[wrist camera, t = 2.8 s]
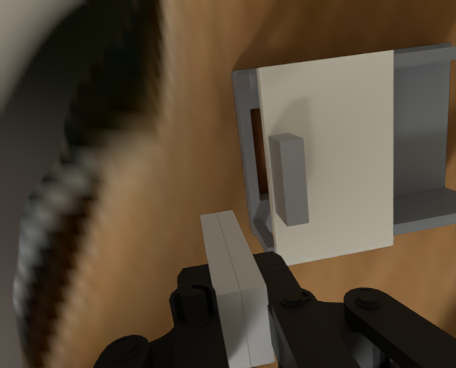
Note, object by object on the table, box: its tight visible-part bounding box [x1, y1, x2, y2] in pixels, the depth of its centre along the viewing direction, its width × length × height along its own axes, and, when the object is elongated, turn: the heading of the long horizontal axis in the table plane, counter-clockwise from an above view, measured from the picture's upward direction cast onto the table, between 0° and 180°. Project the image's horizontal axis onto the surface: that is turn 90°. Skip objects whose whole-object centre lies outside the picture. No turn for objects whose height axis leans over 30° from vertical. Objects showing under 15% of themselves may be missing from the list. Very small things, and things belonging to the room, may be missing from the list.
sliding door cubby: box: [231, 42, 456, 252], centre depth 32 cm, size 21×16×8 cm
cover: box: [256, 50, 394, 266], centre depth 26 cm, size 10×16×4 cm, turn 7°
